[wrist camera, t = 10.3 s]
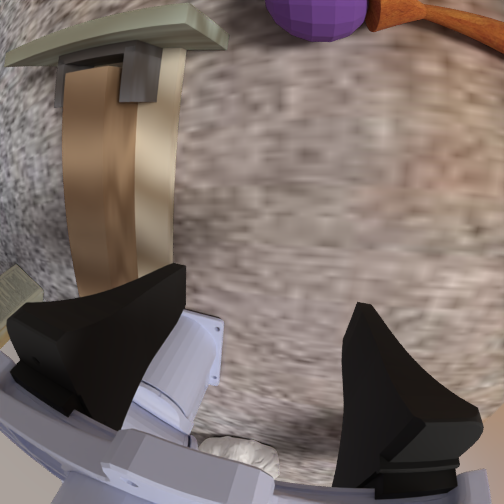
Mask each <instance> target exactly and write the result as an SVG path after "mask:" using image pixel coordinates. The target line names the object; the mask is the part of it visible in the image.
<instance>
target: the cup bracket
mask: <svg viewBox="0 0 504 504" xmlns="http://www.w3.org/2000/svg"><path fill="white" fill-rule="evenodd" d="M228 39H229V34H228V33H226V32H225V31H224V30H223V29H222V28H221V27H219V26H218V25H217V24H216V23H214V22H213V21H212V20H211V19H210V18H208V17H207V16H206V15H204V14H203V13H202V12H201V11H199V10H198V9H197V8H195V7H194V6H193V5H191V4H190V3H180V4H171V5H164V6H157V7H150V8H144V9H139V10H133V11H128V12H123V13H119V14H114V15H110V16H106V17H102V18H98V19H95V20H91V21H88V22H84V23H81V24H78V25H74V26H71V27H68V28H65V29H62V30H60V31H57V32H54V33H51V34H49V35H46V36H44V37H41V38H39V39H36V40H34V41H31V42H29V43H27V44H24V45H22V46H20V47H18V48H16V49H14V50H11V51H9V52H7V53H6V58H5V65H4V67H19V66H58V68H57V77H56V88H55V102H54V108H58V107H63V99H64V86H65V76H66V73H70V72H75V71H80V70H86V69H91V68H97V67H104V66H113V67H120V68H122V76H121V86H120V97H119V102H138V111H137V126H136V145H135V230H136V250H137V266H138V278H140V277H142V276H144V275H146V274H149V273H151V272H153V271H155V270H157V269H159V268H162V267H164V266H166V265H169V264H171V263H173V211H174V183H175V164H176V148H177V134H178V122H179V111H180V101H181V92H182V83H183V75H184V67H185V59H186V52H187V50H227V46H228Z"/></svg>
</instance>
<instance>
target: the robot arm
mask: <svg viewBox="0 0 504 504" xmlns="http://www.w3.org/2000/svg"><path fill="white" fill-rule="evenodd" d="M185 306H186V266H185V265H180V264H176V263H171V264H169V265H166V266H164V267H162V268H159V269H157V270H155V271H153V272H151V273H149V274H146V275H144V276H142V277H140V278H138V279H135V280H133V281H130V282H128V283H126V284H123V285H121V286H118V287H115V288H113V289H110V290H107V291H103V292H100V293H97V294H93V295H88V296H84V297H79V298H75V299H68V300H61V301H51V302H26V303H25V304H24V305H22V306H21V307H20V308H19V309H18V310H17V311H16V312H15V313H13V314H12V315H11V316H10V317H9V318H8V319H7V322H6V327H7V332H8V334H9V337H10V339H11V341H12V344H13V346H14V348H15V350H16V352H17V354H18V356H19V358H20V361H19V362H18V363H17V364H15V363H14V362H13V360H12V359H11V358H9V357H8V356H7V355H6V354H4V353H3V352H2V351H0V431H1V432H2V433H4V434H5V435H6V436H7V437H8V438H9V439H10V440H11V441H12V442H13V443H15V444H16V445H17V446H18V447H19V448H21V449H22V450H23V451H24V452H25V453H26V454H28V455H29V456H30V457H31V458H33V459H34V460H35V461H36V462H38V463H39V464H40V465H42V466H43V467H44V468H46V469H47V470H49V471H50V472H51V473H52V474H54V475H55V476H56V477H58V478H59V479H61V481H62V486H61V487H60V489H59V491H58V492H57V494H56V496H55V497H54V499H53V501H52V502H51V504H492V503H491V496H490V489H489V484H488V478H487V472H486V469H480V470H474V471H469V472H464V473H461V474H459V475H457V476H456V470H455V469H456V468H458V467H459V465H460V463H459V457H460V456H461V455H462V454H463V453H464V452H466V451H467V450H468V449H469V448H470V447H471V446H472V445H473V444H474V443H475V442H476V441H477V440H478V439H479V438H480V436H481V434H482V432H483V428H484V427H483V423H482V420H481V416H480V413H479V410H478V408H477V407H476V406H474V405H472V404H470V403H469V402H467V401H465V400H463V399H462V398H460V397H458V396H457V395H455V394H454V393H452V392H451V391H450V390H448V389H447V388H445V387H444V386H443V385H441V384H440V383H439V382H438V381H437V380H435V379H434V378H433V377H432V376H431V375H429V374H428V373H427V372H426V371H425V370H424V369H423V368H422V367H421V366H420V365H419V364H418V363H417V362H416V361H415V360H414V359H413V358H412V357H411V356H410V355H409V353H408V352H407V351H406V350H405V349H404V348H403V346H402V345H401V344H400V343H399V341H398V340H397V339H396V338H395V336H394V335H393V334H392V332H391V331H390V330H389V328H388V327H387V325H386V324H385V323H384V321H383V320H382V318H381V317H380V316H379V314H378V313H377V311H376V310H375V309H374V307H373V306H372V305H371V304H366V303H361V302H357V304H356V307H355V310H354V312H353V315H352V317H351V320H350V323H349V325H348V328H347V330H346V333H345V335H344V338H343V345H342V378H343V397H344V414H343V424H342V434H341V441H340V448H339V454H338V460H337V465H336V471H335V475H334V479H333V484H332V487H322V486H313V485H304V484H296V483H289V482H282V481H276V480H274V479H273V477H272V476H271V475H270V474H268V473H267V472H265V471H263V470H262V469H260V468H258V467H255V466H252V465H249V464H246V463H243V462H240V461H236V460H232V459H228V458H224V457H220V456H216V455H213V454H209V453H206V452H202V451H199V450H198V444H197V440H196V438H195V437H194V436H193V435H190V432H191V430H192V427H193V425H194V423H193V420H194V418H195V416H196V413H197V411H198V408H199V406H200V404H201V401H202V399H203V397H204V394H205V392H206V390H207V387H208V385H209V384H210V385H214V386H217V385H218V384H219V381H220V368H221V356H222V344H223V332H224V322H223V320H221V319H219V318H215V317H211V316H207V315H203V314H200V313H196V312H192V311H188V310H185V309H184V308H185ZM217 327H219V328H220V329H218V328H217Z"/></svg>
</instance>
